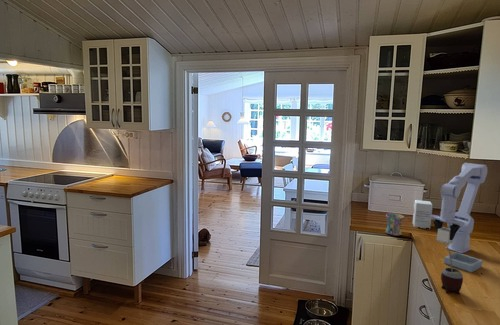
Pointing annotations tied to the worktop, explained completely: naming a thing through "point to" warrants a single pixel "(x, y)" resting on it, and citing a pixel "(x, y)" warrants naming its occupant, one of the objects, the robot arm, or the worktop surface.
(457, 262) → the big crate
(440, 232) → the box
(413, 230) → the worktop surface
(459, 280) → the mate gourd
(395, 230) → the mug
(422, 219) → the supplement box
